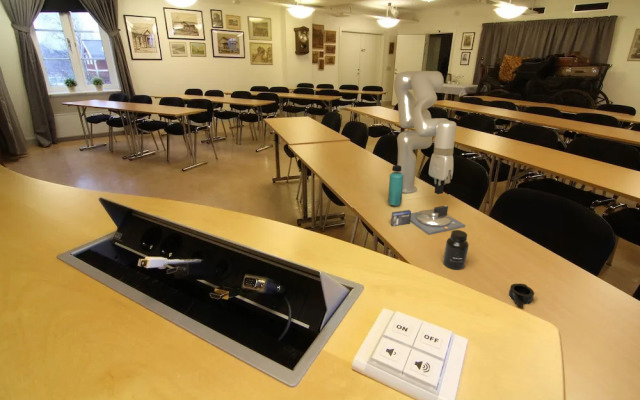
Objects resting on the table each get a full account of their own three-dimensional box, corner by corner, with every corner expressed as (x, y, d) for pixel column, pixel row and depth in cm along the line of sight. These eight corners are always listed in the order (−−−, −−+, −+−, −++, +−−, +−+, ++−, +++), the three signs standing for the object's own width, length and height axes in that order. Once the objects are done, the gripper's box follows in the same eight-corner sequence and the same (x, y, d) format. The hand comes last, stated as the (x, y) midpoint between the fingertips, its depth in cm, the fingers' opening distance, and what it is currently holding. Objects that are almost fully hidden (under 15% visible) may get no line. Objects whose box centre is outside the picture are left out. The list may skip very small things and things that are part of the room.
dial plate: (403, 216, 143) (403, 214, 142) (436, 210, 148) (436, 208, 148) (428, 234, 127) (428, 232, 127) (464, 227, 133) (465, 224, 132)
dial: (429, 229, 129) (431, 217, 127) (409, 215, 141) (410, 204, 139) (457, 223, 133) (459, 211, 131) (435, 210, 146) (437, 199, 143)
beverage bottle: (401, 209, 151) (405, 168, 143) (387, 208, 152) (389, 167, 144) (401, 203, 156) (404, 164, 149) (387, 202, 158) (389, 163, 150)
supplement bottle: (453, 272, 104) (459, 240, 99) (438, 261, 110) (443, 230, 105) (469, 267, 107) (475, 235, 102) (453, 257, 112) (458, 226, 108)
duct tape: (495, 294, 94) (497, 286, 93) (520, 286, 98) (522, 278, 96) (519, 311, 88) (521, 303, 86) (544, 301, 91) (547, 293, 90)
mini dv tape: (392, 226, 135) (393, 213, 132) (390, 225, 136) (391, 212, 134) (410, 224, 136) (411, 211, 134) (408, 222, 138) (409, 209, 136)
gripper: (424, 149, 138) (420, 189, 144) (448, 156, 124) (443, 200, 131) (438, 147, 140) (434, 187, 147) (463, 154, 127) (457, 197, 133)
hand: (438, 193), depth 139 cm, fingers closed
